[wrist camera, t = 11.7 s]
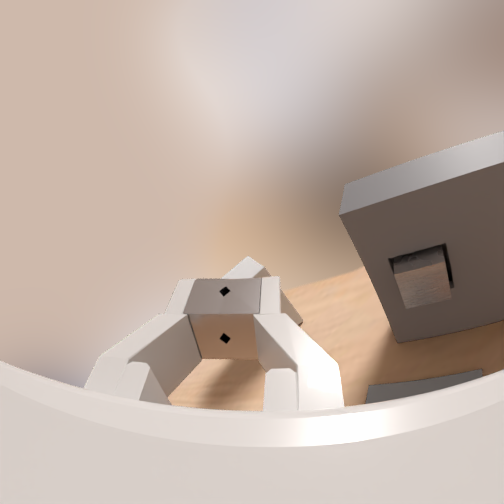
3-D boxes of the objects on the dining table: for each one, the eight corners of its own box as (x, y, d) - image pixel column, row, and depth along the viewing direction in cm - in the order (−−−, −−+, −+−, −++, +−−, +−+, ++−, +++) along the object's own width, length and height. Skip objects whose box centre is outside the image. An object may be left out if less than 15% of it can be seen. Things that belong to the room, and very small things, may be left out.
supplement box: (271, 351, 45) (225, 300, 40) (254, 331, 52) (212, 283, 47) (305, 321, 46) (265, 265, 41) (284, 304, 53) (246, 254, 48)
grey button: (451, 298, 23) (444, 261, 21) (406, 308, 26) (393, 274, 24) (448, 277, 25) (440, 240, 23) (405, 287, 28) (393, 253, 26)
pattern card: (479, 456, 14) (480, 455, 14) (351, 463, 23) (350, 462, 23) (481, 370, 21) (482, 367, 21) (369, 386, 30) (368, 384, 30)
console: (560, 300, 18) (570, 141, 10) (397, 343, 32) (338, 215, 24) (547, 267, 22) (540, 120, 14) (399, 307, 36) (345, 184, 28)
